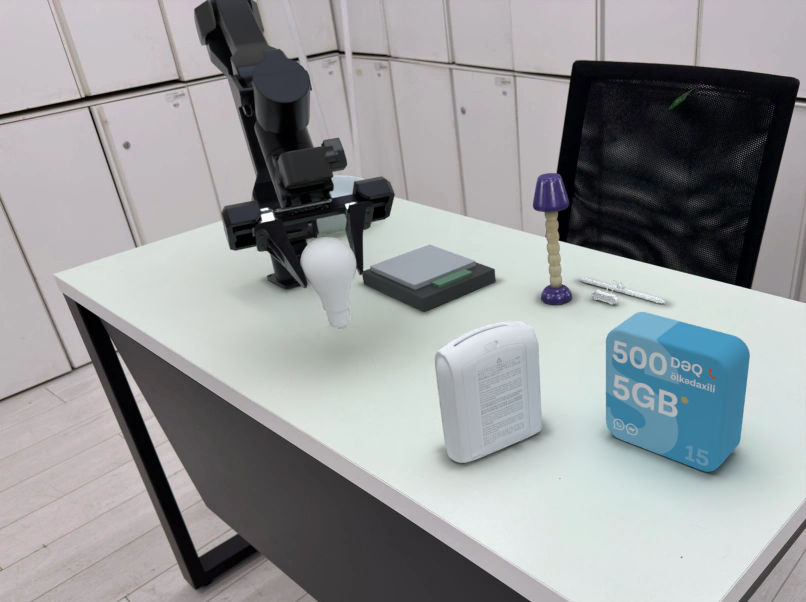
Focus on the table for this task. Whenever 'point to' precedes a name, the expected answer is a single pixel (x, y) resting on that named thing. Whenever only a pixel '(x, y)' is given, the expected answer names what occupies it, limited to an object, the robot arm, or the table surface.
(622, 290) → the picture light
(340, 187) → the cereal bowl
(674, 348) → the data package
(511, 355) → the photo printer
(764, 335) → the table surface
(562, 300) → the toy lamp
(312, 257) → the lightbulb
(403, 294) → the scale
